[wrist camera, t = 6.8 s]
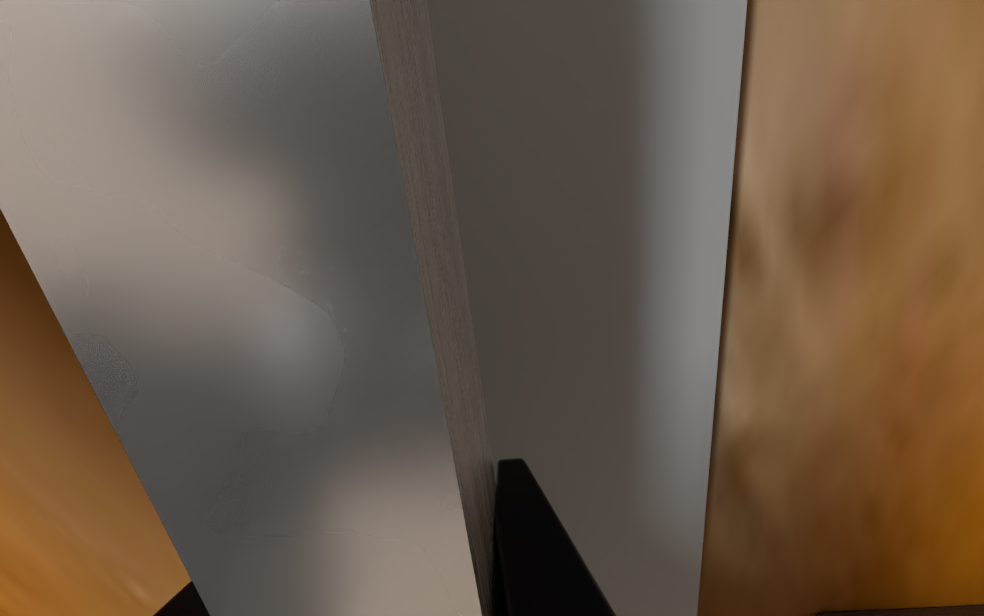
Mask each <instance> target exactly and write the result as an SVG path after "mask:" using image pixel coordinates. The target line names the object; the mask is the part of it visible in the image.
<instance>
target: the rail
mask: <svg viewBox="0 0 984 616" xmlns="http://www.w3.org/2000/svg"><path fill="white" fill-rule="evenodd" d="M0 209H1V211H2V213H3V215H4V217H5V219H6V221H7V223H8V224H9V226H10V228H11V230H12V232H13V234H14V236H15V238H16V240H17V242H18V244H19V246H20V248H21V250H22V252H23V254H24V256H25V257H26V259H27V261H28V263H29V265H30V267H31V269H32V271H33V273H34V275H35V277H36V279H37V281H38V283H39V285H40V287H41V289H42V290H43V292H44V294H45V296H46V298H47V300H48V302H49V304H50V306H51V308H52V310H53V312H54V314H55V316H56V318H57V320H58V322H59V323H60V325H61V327H62V329H63V331H64V333H65V335H66V337H67V339H68V341H69V343H70V345H71V347H72V349H73V351H74V353H75V355H76V356H77V358H78V360H79V362H80V364H81V366H82V368H83V370H84V372H85V374H86V376H87V378H88V380H89V382H90V384H91V386H92V387H93V389H94V391H95V393H96V395H97V397H98V399H99V401H100V403H101V405H102V407H103V409H104V411H105V413H106V415H107V417H108V419H109V420H110V422H111V424H112V426H113V428H114V430H115V432H116V434H117V436H118V438H119V440H120V442H121V444H122V446H123V448H124V450H125V452H126V453H127V455H128V457H129V459H130V461H131V463H132V465H133V467H134V469H135V471H136V473H137V475H138V477H139V479H140V481H141V483H142V485H143V486H144V488H145V490H146V492H147V494H148V496H149V498H150V500H151V502H152V504H153V506H154V508H155V510H156V512H157V514H158V516H159V517H160V519H161V521H162V523H163V525H164V527H165V529H166V531H167V533H168V535H169V537H170V539H171V541H172V543H173V545H174V547H175V549H176V550H177V552H178V554H179V556H180V558H181V560H182V562H183V564H184V566H185V568H186V570H187V572H188V574H189V576H190V578H191V580H192V582H193V583H194V585H195V587H196V589H197V591H198V593H199V595H200V597H201V599H202V601H203V603H204V605H205V607H206V609H207V611H208V613H209V615H210V616H507V613H506V606H505V600H504V593H503V586H502V579H501V573H500V566H499V559H498V553H497V546H496V539H495V532H494V515H495V496H496V481H495V474H494V467H493V460H492V453H491V446H490V439H489V432H488V425H487V418H486V411H485V404H484V397H483V390H482V383H481V376H480V369H479V362H478V355H477V348H476V341H475V334H474V327H473V320H472V313H471V306H470V299H469V292H468V285H467V278H466V271H465V264H464V257H463V250H462V243H461V236H460V229H459V222H458V215H457V208H456V201H455V194H454V187H453V180H452V173H451V166H450V159H449V152H448V145H447V138H446V131H445V124H444V117H443V110H442V103H441V96H440V89H439V82H438V75H437V68H436V61H435V54H434V47H433V40H432V33H431V26H430V19H429V12H428V5H427V0H0Z"/></svg>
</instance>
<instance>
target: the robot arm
mask: <svg viewBox="0 0 984 616" xmlns="http://www.w3.org/2000/svg"><path fill="white" fill-rule="evenodd" d="M494 532H495V539H496V546H497V553H498V559H499V566H500V573H501V579H502V586H503V593H504V600H505V606H506V613H507V616H616V614H615V612H614V611H613V609H612V607H611V606H610V604H609V602H608V600H607V599H606V597H605V595H604V594H603V592H602V590H601V589H600V587H599V585H598V584H597V582H596V580H595V578H594V577H593V575H592V573H591V572H590V570H589V568H588V567H587V565H586V563H585V562H584V560H583V558H582V556H581V555H580V553H579V551H578V550H577V548H576V546H575V545H574V543H573V541H572V540H571V538H570V536H569V534H568V533H567V531H566V529H565V528H564V526H563V524H562V523H561V521H560V519H559V518H558V516H557V514H556V512H555V511H554V509H553V507H552V506H551V504H550V502H549V501H548V499H547V497H546V496H545V494H544V492H543V490H542V489H541V487H540V485H539V484H538V482H537V480H536V479H535V477H534V475H533V474H532V472H531V470H530V468H529V467H528V465H527V463H526V462H525V461H524V460H523V459H521V458H515V459H501V460H499V461H498V462H497V467H496V496H495V515H494ZM153 616H210V615H209V613H208V611H207V609H206V607H205V605H204V603H203V601H202V599H201V597H200V595H199V593H198V591H197V589H196V587H195V585H194V583H193V582H192V581H191V582H190V583H188V584H187V585H186V586H185V587H184V588H183V589H182V590H181V591H180V592H179V593H177V594H176V595H175V596H174V597H173V598H172V599H171V600H170V601H169V602H168V603H166V604H165V605H164V606H163V607H162V608H161V609H160V610H159V611H158V612H157V613H155V614H154V615H153Z"/></svg>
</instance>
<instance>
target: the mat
mask: <svg viewBox="0 0 984 616" xmlns="http://www.w3.org/2000/svg"><path fill="white" fill-rule="evenodd" d="M427 5H428V12H429V19H430V26H431V33H432V40H433V47H434V54H435V61H436V68H437V75H438V82H439V89H440V96H441V103H442V110H443V117H444V124H445V131H446V138H447V145H448V152H449V159H450V166H451V173H452V180H453V187H454V194H455V201H456V208H457V215H458V222H459V229H460V236H461V243H462V250H463V257H464V264H465V271H466V278H467V285H468V292H469V299H470V306H471V313H472V320H473V327H474V334H475V341H476V348H477V355H478V362H479V369H480V376H481V383H482V390H483V397H484V404H485V411H486V418H487V425H488V432H489V439H490V446H491V453H492V460H493V467H494V474H495V481H496V467H497V462H498V461H499V460H501V459H515V458H521V459H523V460H524V461H525V462H526V463H527V465H528V467H529V468H530V470H531V472H532V474H533V475H534V477H535V479H536V480H537V482H538V484H539V485H540V487H541V489H542V490H543V492H544V494H545V496H546V497H547V499H548V501H549V502H550V504H551V506H552V507H553V509H554V511H555V512H556V514H557V516H558V518H559V519H560V521H561V523H562V524H563V526H564V528H565V529H566V531H567V533H568V534H569V536H570V538H571V540H572V541H573V543H574V545H575V546H576V548H577V550H578V551H579V553H580V555H581V556H582V558H583V560H584V562H585V563H586V565H587V567H588V568H589V570H590V572H591V573H592V575H593V577H594V578H595V580H596V582H597V584H598V585H599V587H600V589H601V590H602V592H603V594H604V595H605V597H606V599H607V600H608V602H609V604H610V606H611V607H612V609H613V611H614V612H615V614H616V616H697V610H698V598H699V586H700V574H701V561H702V549H703V537H704V525H705V512H706V500H707V488H708V476H709V463H710V451H711V439H712V427H713V414H714V402H715V390H716V378H717V366H718V353H719V341H720V329H721V317H722V304H723V292H724V280H725V268H726V255H727V243H728V231H729V219H730V206H731V194H732V182H733V170H734V157H735V145H736V133H737V121H738V108H739V96H740V84H741V72H742V59H743V47H744V35H745V23H746V10H747V0H427Z"/></svg>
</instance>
